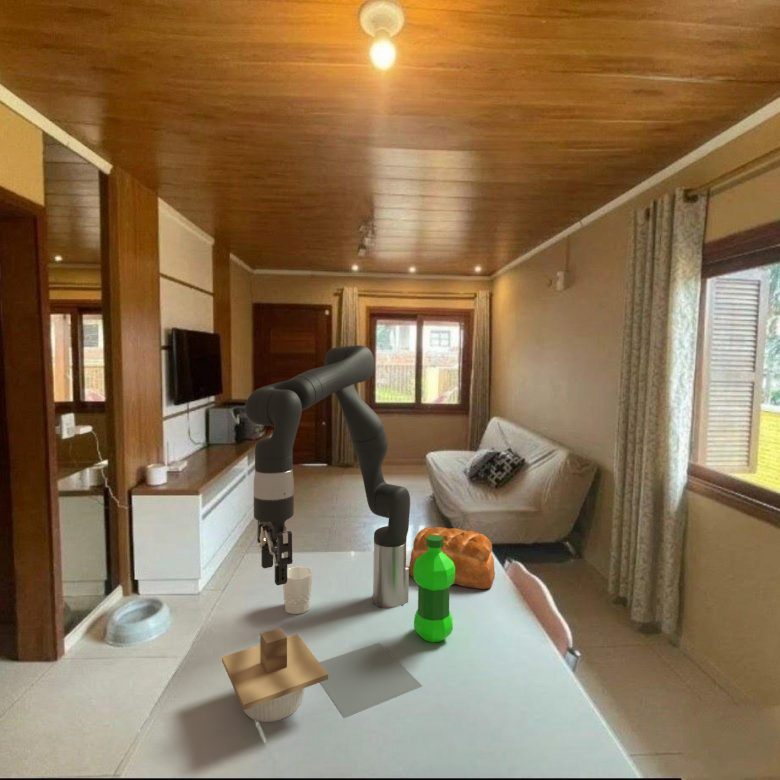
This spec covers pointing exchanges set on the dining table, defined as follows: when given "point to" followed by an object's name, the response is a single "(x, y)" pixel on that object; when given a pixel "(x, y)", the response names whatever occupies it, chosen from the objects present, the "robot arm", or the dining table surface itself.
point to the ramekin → (276, 707)
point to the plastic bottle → (433, 591)
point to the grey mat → (365, 679)
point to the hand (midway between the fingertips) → (273, 575)
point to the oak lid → (272, 668)
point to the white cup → (297, 590)
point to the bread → (461, 555)
